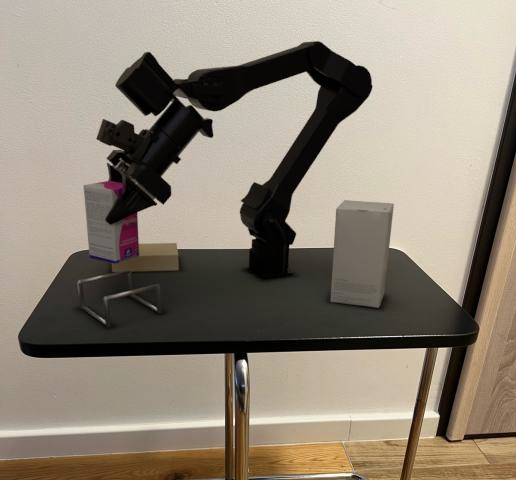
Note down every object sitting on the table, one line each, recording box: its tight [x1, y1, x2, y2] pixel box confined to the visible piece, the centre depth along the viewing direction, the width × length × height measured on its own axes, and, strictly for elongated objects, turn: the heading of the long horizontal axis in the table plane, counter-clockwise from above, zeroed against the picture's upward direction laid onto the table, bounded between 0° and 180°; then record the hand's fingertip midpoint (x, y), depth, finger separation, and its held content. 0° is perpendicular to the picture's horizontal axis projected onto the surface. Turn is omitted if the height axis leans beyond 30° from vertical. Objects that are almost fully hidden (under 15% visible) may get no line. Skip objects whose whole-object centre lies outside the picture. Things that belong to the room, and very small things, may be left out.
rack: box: [76, 270, 163, 329], centre depth 82 cm, size 9×9×5 cm
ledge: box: [110, 242, 180, 273], centre depth 102 cm, size 12×8×3 cm, turn 100°
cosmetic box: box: [330, 199, 395, 309], centre depth 86 cm, size 8×7×16 cm
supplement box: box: [83, 180, 140, 264], centre depth 85 cm, size 6×6×12 cm
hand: (102, 216), depth 84 cm, fingers closed on supplement box, 7 cm apart
